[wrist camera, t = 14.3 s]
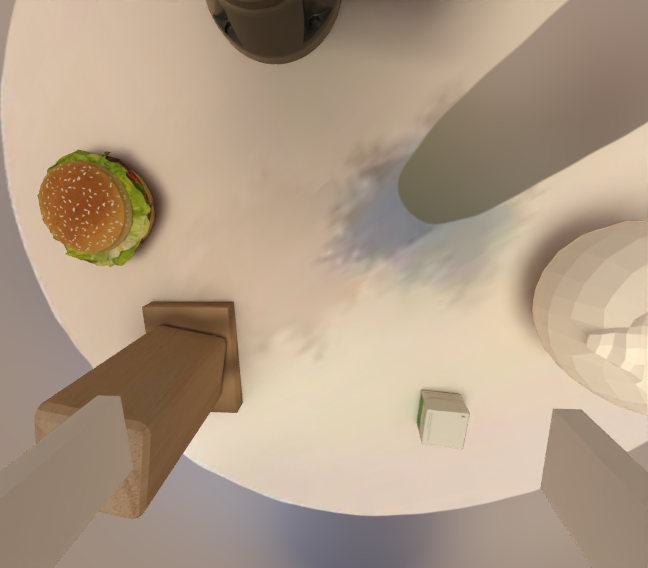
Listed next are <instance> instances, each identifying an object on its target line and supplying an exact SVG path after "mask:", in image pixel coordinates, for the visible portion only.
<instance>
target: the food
mask: <svg viewBox="0 0 648 568" xmlns="http://www.w3.org/2000/svg"><path fill="white" fill-rule="evenodd" d="M109 153H110V152H105V155H97V154H93V153H89V152H85V151H81V150H77V151H75V152H74V153H71V154H68V155H66V156H64V157H62V158H61V159H59V160H58V161H57V163H56V164H55V165H54V166H52V167H50V168H49V169H48V170H47V173H48V174H47V175H46V176H45V178H44V180H43V182H42V184H41V188H40V190H39V194H38V199H39V205H40V210H41V215H42V217H43V221H44V223H45V224H46V225H47V227H48V229H49V230H50V232H51V233H52V234H53V238H54V239H56V240H58V241H60V242H61V243H63V244H64V245H65V248H66V250H67V253H66V254H67V255H69V256H72V257H76V258H78V259H80V260H85V261H88V262H90V263H94V264H95V265H97V266H105V265H108V266H110V267H111V266H113V265H119V266H122V265H124V264H125V263H126V262H127V260H129V259H130V258H131V257H132V256H133V255H134V253H135V250H136V248H137V247H138V245H140V244H141V243H142V242H143V240H144V239H145V238H146V237H147V236H148V235H149V233H150V231H151V228H152V225H153V222H154V219H155V212H154V203H153V197H152V195H151V193H150V191H149V189H148V188H147V186H146V184H145V182H144V181H143V179H142V178H141V177H140V176H139V175H138V174H137V173H135V172H134V171H133V170H131V169H130V168H129V167H127V166H126V165H125V164H124V163H123V162H122V161H120V160H119V159H116V158H112V157H109V156H107V155H108V154H109Z"/></svg>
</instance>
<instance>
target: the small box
mask: <svg viewBox="0 0 648 568" xmlns="http://www.w3.org/2000/svg"><path fill="white" fill-rule="evenodd" d="M469 415H470V413H469V411H468V409H467V407H466V405H465V403H464V401H463V399H462V397H461V395H460V394H454V393H445V392H436V391H426V390H422V391H421V398H420V404H419V411H418V417H417V426H418V430H419V434H420V438H421V442H422V444H426V445H433V446H442V447H450V448H457V449H463V447H464V442H465V436H466V431H467V426H468V420H469Z"/></svg>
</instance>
